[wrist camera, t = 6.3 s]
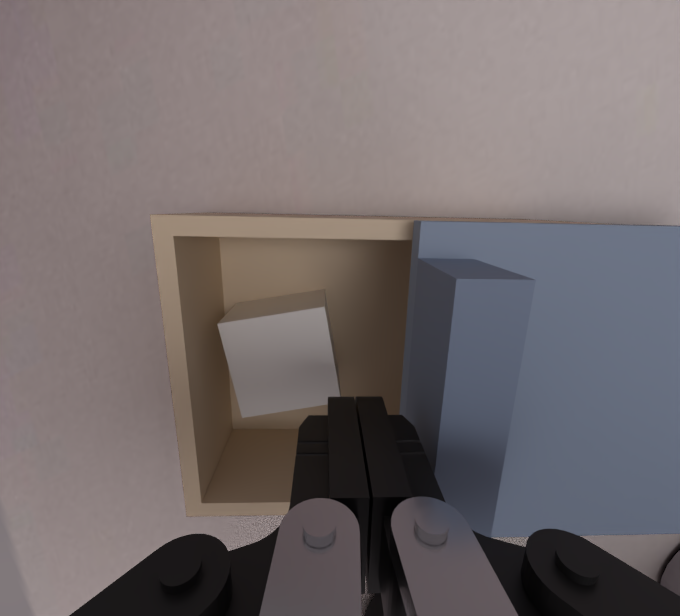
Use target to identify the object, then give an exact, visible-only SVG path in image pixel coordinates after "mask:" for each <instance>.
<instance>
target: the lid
mask: <svg viewBox="0 0 680 616" xmlns="http://www.w3.org/2000/svg"><path fill="white" fill-rule="evenodd" d="M399 415H403V416H404V417H405V418H406V419H407V420H408V421H409V422H410V423H411V424H413V425H414V427H415V429H416V431H417V434H418V436H419V439H420V443H421V444H422V446H423V448H424V451H425V455H426V456H427V458H428V461H429V463H430V465H431V468H432V470H433V473H434V475H435V478H436V480H437V483H438V485H439V487H440V490H441V492H442V495H443V497H444V500H445V502H446V503H447V504H449V505H451V506H452V507H454V508H455V509H456V510H457V511H458V512H460V513H461V514H462V516H463V517H464V518H465V519H466V521H467V522H468V524H469V526H470V527H471V529H472V530H473V531H475V532H477V533H479V534H481V535H484V536H486V537H489V538H491V537H530V536H531V535H532V534H533V533H534V532H536V531H538V530H541V529H549V528H550V529H559V530H564V531H567V532H570V533H573V534H575V535H578V536H586V535H639V534H680V226H665V225H616V224H567V223H518V222H469V221H421V220H414V227H413V240H412V253H411V267H410V280H409V293H408V306H407V319H406V333H405V346H404V359H403V372H402V385H401V399H400V412H399Z"/></svg>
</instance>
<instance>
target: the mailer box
mask: <svg viewBox="0 0 680 616" xmlns="http://www.w3.org/2000/svg"><path fill="white" fill-rule="evenodd" d="M150 219H151V227H152V235H153V244H154V252H155V260H156V268H157V277H158V285H159V293H160V301H161V309H162V318H163V326H164V334H165V342H166V351H167V359H168V367H169V375H170V383H171V392H172V400H173V408H174V416H175V425H176V433H177V441H178V449H179V457H180V466H181V474H182V482H183V490H184V498H185V507H186V515H187V517H194V516H257V515H286V514H287V513H288V511H289V506H290V499H291V491H292V482H293V474H294V466H295V457H296V449H297V441H298V432H299V427H300V425H301V424H302V423H303V421H304V420H305V419H306V418H307V416H308V415H328V404H327V405H321V406H315V407H308V408H302V409H296V410H289V411H283V412H277V413H270V414H264V415H258V416H251V417H245V418H242V415H241V412H240V408H239V404H238V400H237V397H236V393H235V389H234V385H233V382H232V378H231V374H230V370H229V366H228V363H227V359H226V355H225V351H224V348H223V344H222V340H221V336H220V333H219V329H218V325H217V324H218V323H219V321H220V320H221V319H222V318H223V317H224V316H225V315H226V314H227V313H228V312H229V311H230V310H231V309H232V308H233V307H234V306H235V304H236V303H239V302H245V301H252V300H258V299H264V298H270V297H277V296H283V295H289V294H295V293H302V292H308V291H314V290H320V289H325V292H326V298H327V304H328V310H329V315H330V321H331V327H332V333H333V339H334V345H335V351H336V356H337V362H338V368H339V380H340V392H341V397H354V399H355V397H356V396H382V398H383V400H384V404H385V407H386V410H387V414H388V415H399V412H400V399H401V385H402V372H403V359H404V346H405V333H406V319H407V306H408V293H409V280H410V267H411V253H412V240H413V227H414V220H421V221H469V222H518V223H567V224H600V223H582V222H563V221H545V220H526V219H484V218H436V217H388V216H340V215H292V214H245V213H185V214H156V215H150Z"/></svg>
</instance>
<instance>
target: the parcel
mask: <svg viewBox="0 0 680 616" xmlns="http://www.w3.org/2000/svg"><path fill="white" fill-rule="evenodd" d="M217 325H218V329H219V333H220V336H221V340H222V344H223V348H224V351H225V355H226V359H227V363H228V366H229V370H230V374H231V378H232V382H233V385H234V389H235V393H236V397H237V400H238V404H239V408H240V412H241V415H242V418H245V417H251V416H258V415H264V414H270V413H277V412H283V411H289V410H296V409H302V408H308V407H315V406H321V405H327V404H328V397H341V392H340V380H339V368H338V362H337V356H336V351H335V345H334V339H333V333H332V327H331V321H330V315H329V310H328V304H327V298H326V292H325V289H320V290H314V291H308V292H302V293H295V294H289V295H283V296H277V297H270V298H264V299H258V300H252V301H245V302H239V303H236V304H235V306H234V307H233V308H232V309H231V310H230V311H229V312H228V313H227V314H226V315H225V316H224V317H223V318H222V319H221V320H220V321H219V323H218V324H217Z"/></svg>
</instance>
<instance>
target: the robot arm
mask: <svg viewBox="0 0 680 616" xmlns="http://www.w3.org/2000/svg"><path fill="white" fill-rule="evenodd" d="M365 575H366V582H367V591H368V593H381V598H382V605H383V612H384V616H680V551H678V552H677V553H676V555H675V556H674V557H673V559H672V560H671V561H670V562H669V564H668V565H667V567H666V569H665V571H664V573H663V575H662V578H661V583H660V584H659V583H657V582H656V581H654V580H652V579H651V578H649V577H647V576H646V575H644V574H642V573H641V572H639V571H637V570H636V569H634V568H632V567H631V566H629V565H627V564H626V563H624V562H622V561H621V560H619V559H618V558H616V557H614V556H613V555H611V554H609V553H608V552H606V551H604V550H603V549H601V548H599V547H598V546H596V545H594V544H593V543H591V542H589V541H588V540H586V539H584V538H582V537H580V536H578V535H575V534H573V533H570V532H567V531H564V530H559V529H550V528H549V529H541V530H538V531H536V532H534V533H533V534H532V535H531V536H530V537H529V538H528V540H527V544H526V547H522V546H519V545H515V544H511V543H507V542H504V541H500V540H496V539H493V538H489V537H486V536H484V535H481V534H479V533H477V532H475V531H473V530H472V529H471V527H470V526H469V524H468V522H467V521H466V519H465V518H464V517H463V516H462V514H461V513H460V512H458V511H457V510H456V509H455V508H454V507H452V506H451V505H449V504H447V503H446V502H445V500H444V497H443V495H442V492H441V490H440V487H439V485H438V483H437V480H436V478H435V475H434V473H433V470H432V468H431V465H430V463H429V461H428V458H427V456H426V455H425V451H424V448H423V446H422V444H421V443H420V439H419V436H418V434H417V431H416V429H415V427H414V425H413V424H411V423H410V422H409V421H408V420H407V419H406V418H405V417H404V416H403V415H388V414H387V410H386V407H385V404H384V400H383V398H382V396H356V397H355V399H354V397H328V415H308V416H307V418H306V419H305V420H304V421H303V423H302V424H301V425H300V427H299V432H298V441H297V449H296V457H295V466H294V474H293V482H292V491H291V499H290V506H289V511H288V513H287V514H286V515H285V516H284V518H283V520H282V522H281V525H280V526H279V527H278V528H277V529H276V530H275V531H274V532H273V533H271V534H270V535H268V536H267V537H265V538H264V539H262V540H260V541H258V542H255V543H253V544H250V545H247V546H244V547H241V548H238V549H234V550H231V551H228V550H227V548H226V546H225V545H224V544H223V543H222V542H221V541H220V540H219V539H217V538H215V537H213V536H211V535H206V534H191V535H186V536H182V537H179V538H177V539H174V540H172V541H170V542H168V543H166V544H165V545H163V546H162V547H160V548H159V549H157V550H156V551H154V552H153V553H152V554H151V555H149V556H148V557H147V558H145V559H144V560H143V561H141V562H140V563H139V564H137V565H136V566H135V567H133V568H132V569H131V570H129V571H128V572H127V573H125V574H124V575H123V576H121V577H120V578H119V579H117V580H116V581H115V582H113V583H112V584H111V585H109V586H108V587H107V588H105V589H104V590H103V591H101V592H100V593H99V594H97V595H96V596H95V597H93V598H92V599H91V600H89V601H88V602H87V603H86V604H84V605H83V606H82V607H80V608H79V609H78V610H76V611H75V612H74V613H72V614H71V615H70V616H362V607H361V594H364V593H365Z"/></svg>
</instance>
